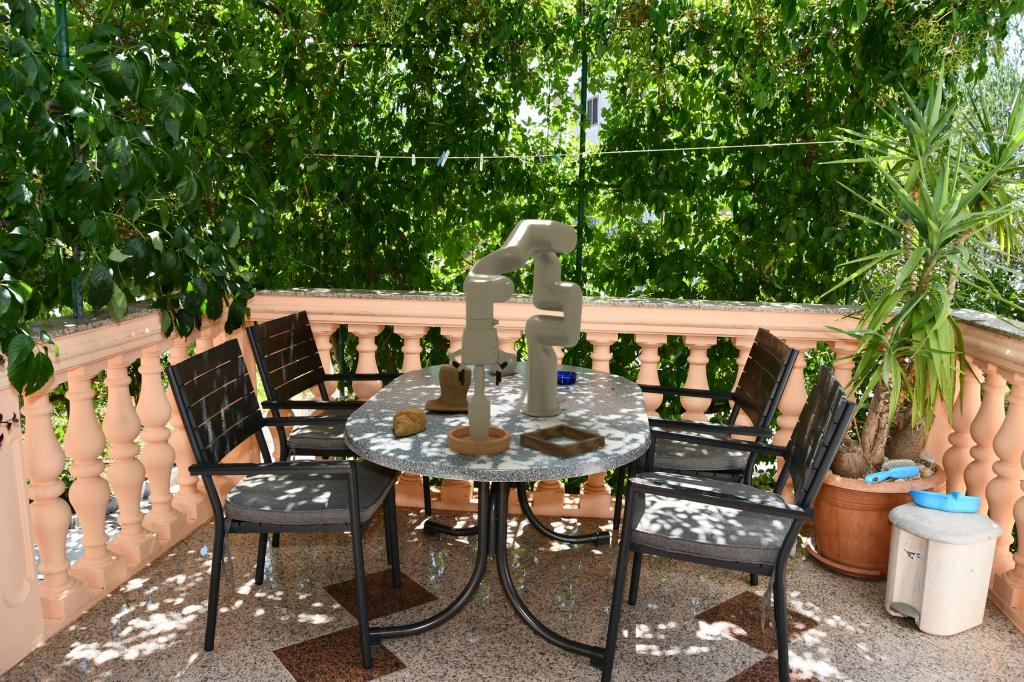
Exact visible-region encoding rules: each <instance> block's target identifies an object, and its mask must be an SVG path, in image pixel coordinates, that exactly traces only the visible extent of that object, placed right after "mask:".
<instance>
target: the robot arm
mask: <svg viewBox="0 0 1024 682" xmlns="http://www.w3.org/2000/svg"><path fill="white" fill-rule="evenodd" d="M577 234H578V233H577V231H576V229H575V228H574V227H573V226H572V225H569V224H566V223H564V222H560V221H557V220H553V219H534V218H532V219H531V218H529V219H528V218H527V219H522V220H520V221H519V222H517V223H516V225H515V226H514V228H513V229H512V231H511V232H510V234H509V235H508V237H507V238H506V240H505V241H504V243H503V244H502V246H501V247H500V248H498V249H496V250H494V251H492V252H490V253H489V254H487V255H485V256H483V257H481V258H480V259H478V260H477V261H476V262H475V263H474V264H473V265H472V267H471V268H470V270H469V271H468V273H467V274H466V276H465V279H464V281H463V284H462V285H463V286H462V289H463V294H464V295H465V327H464V328H463V330H462V337H461V348H458V349H457V350H456V351H453V352H451V353H450V354H448V359H449V360H450V363H451V365H453V366H454V367H455V368H456V369H457V370H458V371H459V382H461V386H463V385H464V383H465V370H464V367H467V366H475V365H483V366H489V365H493V366H494V367H495V368H496V369H497V370H496V374H495V386H496V387H499V385H500V383H502V375H501V371H502V370H503V369H504V368H505V367H506V366H507V365H508V363H509V361H510V359H511V355H510V354H508V353H509V352H507V353H506V351H505V350H502V349H500V348H499V336H498V331H497V327H495V326H496V325H497V326H498V325H499V323H500V322H499V321H500V319H495V318H494V303H505V302H508V301H509V300H511V298H512V297H513V295H514V293H515V284H514V282H513V280H512V279H511V278H510V277H508V276H505V275H502V274H507V273H512V272H514V271H517V270H520V269H523V267H525V266H526V264H527V262H528V261H529V259H530V257H531V258H532V262H533V265H534V267H533V283H532V284H533V285H532V304H533V306H534V308H536V309H537V310H541V311H545V312H546V311H547V312H548V311H549V312H558V313H559V312H561V313H563V316H559V315H553V314H552V315H551V314H534V315H532V316H529V318H528V319H527V320H526V321H525V325H524V326H525V327H524V331H525V332H524V333H525V339H526V344H527V345H526V346H527V389H526V390H527V397H526V398H527V399H526V400H527V401H526V405H524V406H523V407H522V411H521V412H522V413H523V414H525V415H527V416H531V417H538V418H539V417H540V418H541V417H546V418H547V417H554V416H559V415H560V414H561V413H562V407H560V405H561V404H565V403H567V401H568V399H567V397H566V396H562V397H558V363H559V361H558V355H557V352H556V351H555V349H554V348H553V347H561V348H573V347H575V346H576V345H578V343H579V340H580V336H581V328H582V325H581V324H582V314H583V312H582V311H583V297H584V296H583V291H582V288H581V286H580V285H579V284H578V283H576V282H572V281H562V279H561V278H562V263H561V261H560V259H559V257H558V256H557V253H558V254H569V253H571V252H573V251H574V249H575V248H576V246H577V243H578V235H577ZM499 355H501V356H503V357H504V358H505V361H504V362H503V363H502V364H500V363H499V362H498V359H499ZM458 356H460V358H461V363H459V362H458V360H456V357H458Z"/></svg>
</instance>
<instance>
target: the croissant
mask: <svg viewBox="0 0 1024 682" xmlns="http://www.w3.org/2000/svg"><path fill="white" fill-rule="evenodd" d="M426 424H427V415H426V412H425V411H424V410H423V409H422V408H419V407H418V406H407V407H405V408H402V409H400V410H398V411H397V412H396V413H395V414H394V415H393V417H392V427H393V430H394V432H395V433H394V434H395V435H396V437H408V436H411V435H414V434H418V433H420V432H421V431H422V432H423V431H424V429H425V427H426ZM417 432H418V433H417Z"/></svg>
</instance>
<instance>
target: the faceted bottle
mask: <svg viewBox="0 0 1024 682" xmlns="http://www.w3.org/2000/svg"><path fill="white" fill-rule="evenodd" d="M472 373H473V386H474V387H473V395H472V397H470V399H469V401H468V411H467V419H468V426H469V428H470V436H471V441H475V442H479V441H488V434H489V426H491V424H490V423H491V401H490V400H489V398H488V397H487V396H486V394H485V381H486V370H485V365H474V368H473V372H472Z"/></svg>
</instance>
